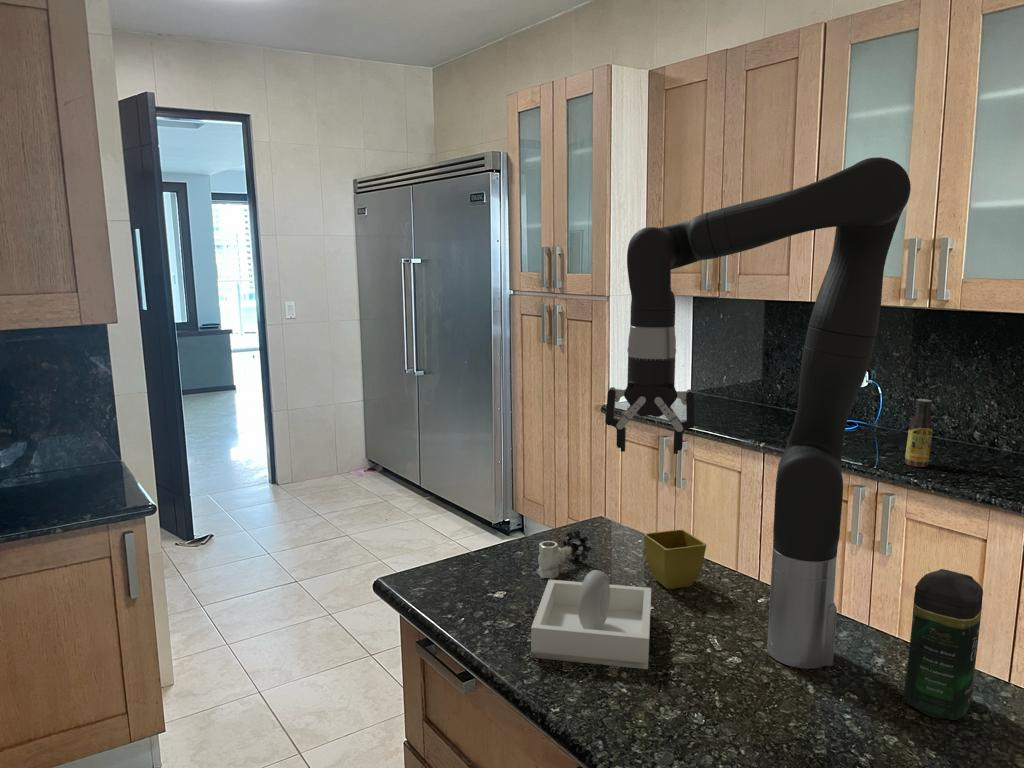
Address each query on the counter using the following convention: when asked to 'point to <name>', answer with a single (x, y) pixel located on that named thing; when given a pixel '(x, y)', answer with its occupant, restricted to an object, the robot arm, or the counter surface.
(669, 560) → the flower pot
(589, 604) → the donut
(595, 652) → the tray
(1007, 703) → the counter surface
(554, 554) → the valve
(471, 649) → the counter surface
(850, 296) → the robot arm
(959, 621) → the coffee jar
